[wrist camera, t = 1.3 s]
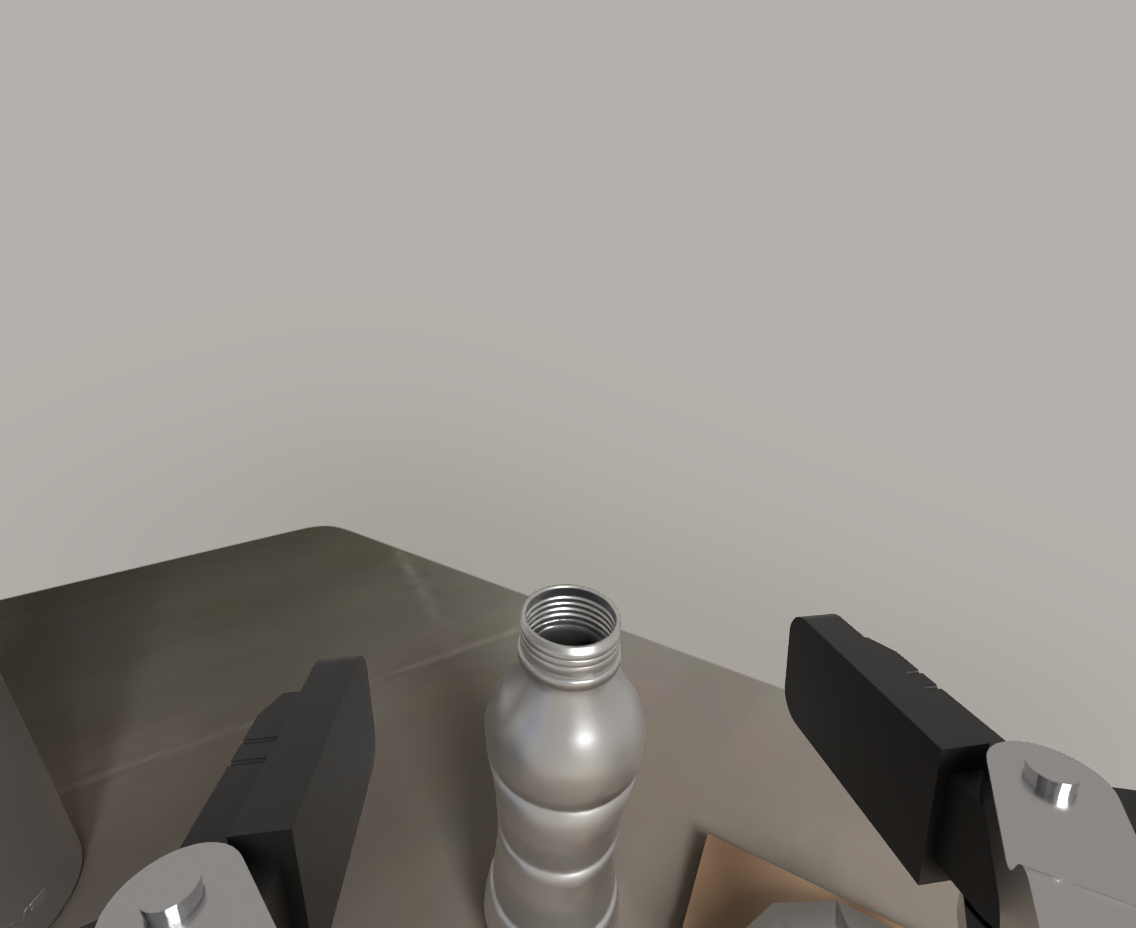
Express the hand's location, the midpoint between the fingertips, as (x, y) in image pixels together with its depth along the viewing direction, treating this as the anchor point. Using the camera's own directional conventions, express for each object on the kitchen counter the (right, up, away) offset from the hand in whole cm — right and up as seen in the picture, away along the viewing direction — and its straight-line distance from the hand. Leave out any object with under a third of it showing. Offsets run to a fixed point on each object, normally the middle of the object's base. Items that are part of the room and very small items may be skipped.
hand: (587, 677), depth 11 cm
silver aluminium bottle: (-1, -20, +18) cm, 27 cm away
